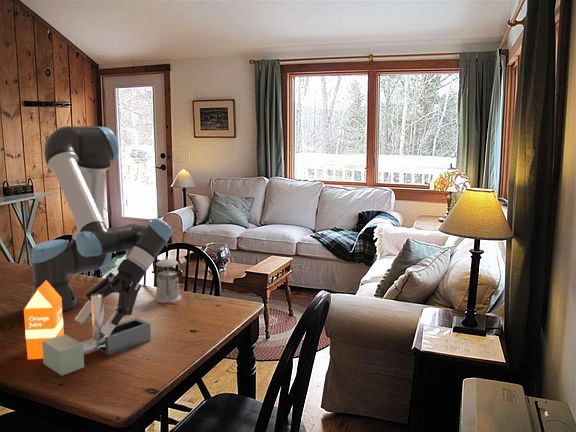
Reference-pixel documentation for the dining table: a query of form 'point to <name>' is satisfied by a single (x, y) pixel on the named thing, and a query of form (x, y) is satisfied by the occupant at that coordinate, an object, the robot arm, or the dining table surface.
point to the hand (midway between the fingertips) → (90, 327)
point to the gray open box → (127, 336)
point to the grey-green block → (63, 354)
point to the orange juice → (42, 319)
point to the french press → (167, 282)
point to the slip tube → (96, 326)
